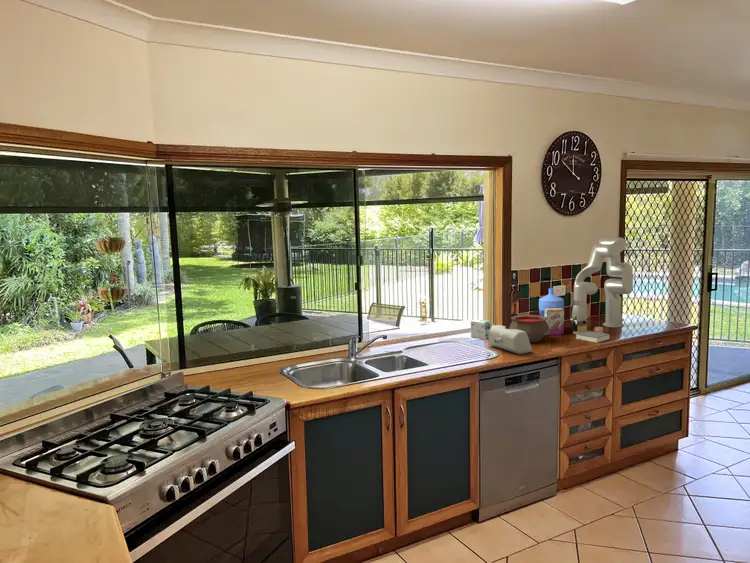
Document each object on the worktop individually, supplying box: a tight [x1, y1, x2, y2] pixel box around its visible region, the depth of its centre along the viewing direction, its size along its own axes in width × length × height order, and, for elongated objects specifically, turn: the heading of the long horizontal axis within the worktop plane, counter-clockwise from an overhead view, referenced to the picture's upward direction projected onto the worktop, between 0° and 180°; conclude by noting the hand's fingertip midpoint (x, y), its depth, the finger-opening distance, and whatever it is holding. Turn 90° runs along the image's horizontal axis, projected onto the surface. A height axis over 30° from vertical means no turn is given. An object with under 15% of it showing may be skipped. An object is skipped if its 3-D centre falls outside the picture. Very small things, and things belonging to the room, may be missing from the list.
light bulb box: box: [470, 319, 491, 340], centre depth 336 cm, size 11×7×11 cm, turn 47°
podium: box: [575, 330, 611, 343], centre depth 321 cm, size 13×14×3 cm
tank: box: [488, 324, 533, 355], centre depth 303 cm, size 25×16×12 cm, turn 26°
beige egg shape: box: [593, 326, 604, 333], centre depth 329 cm, size 5×5×5 cm
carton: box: [572, 322, 588, 335], centre depth 333 cm, size 5×7×7 cm
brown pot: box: [508, 311, 549, 343], centre depth 325 cm, size 24×24×16 cm
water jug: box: [538, 287, 565, 317], centre depth 346 cm, size 16×16×28 cm
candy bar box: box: [545, 308, 565, 336], centre depth 336 cm, size 11×5×16 cm, turn 88°
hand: (579, 330), depth 333 cm, fingers open, 9 cm apart
